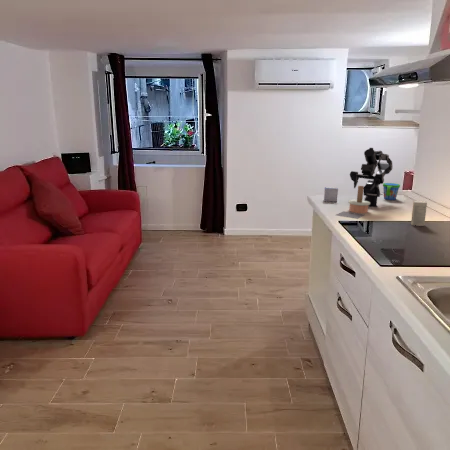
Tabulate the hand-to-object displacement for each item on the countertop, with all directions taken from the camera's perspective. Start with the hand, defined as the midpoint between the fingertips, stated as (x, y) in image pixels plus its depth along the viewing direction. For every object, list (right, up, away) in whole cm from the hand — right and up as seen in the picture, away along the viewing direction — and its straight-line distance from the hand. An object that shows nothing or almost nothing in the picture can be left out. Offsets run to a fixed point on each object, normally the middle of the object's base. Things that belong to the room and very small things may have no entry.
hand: (362, 188), depth 250 cm
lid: (-2, -8, 0) cm, 8 cm away
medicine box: (-11, -5, +30) cm, 33 cm away
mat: (-9, -16, -9) cm, 20 cm away
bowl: (-2, -13, +1) cm, 13 cm away
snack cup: (+31, -4, +41) cm, 51 cm away
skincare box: (+20, -21, -25) cm, 38 cm away
